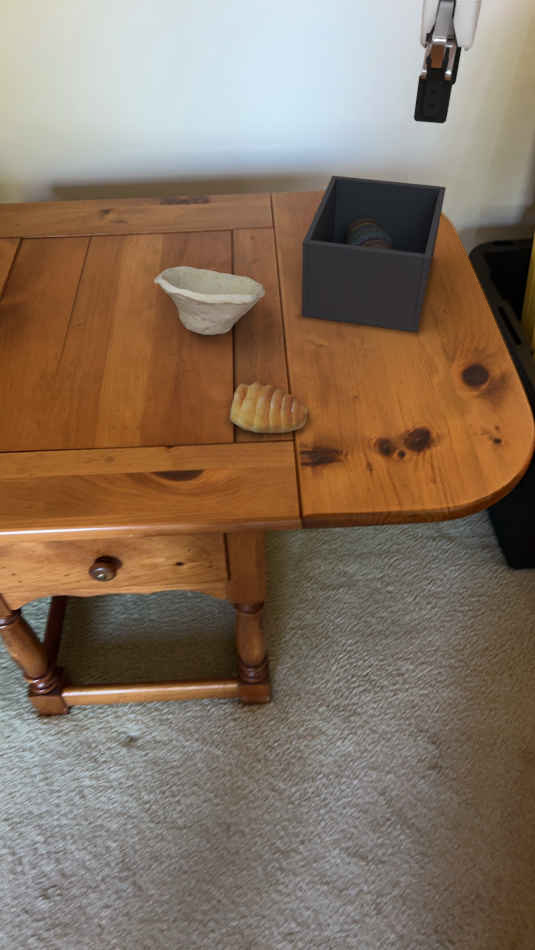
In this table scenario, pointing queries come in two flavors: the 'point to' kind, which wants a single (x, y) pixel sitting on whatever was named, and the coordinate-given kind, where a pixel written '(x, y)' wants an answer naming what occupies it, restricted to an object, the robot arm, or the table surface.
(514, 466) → the table surface
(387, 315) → the trash bin
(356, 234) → the mate gourd
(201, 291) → the bowl
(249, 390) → the pastry
